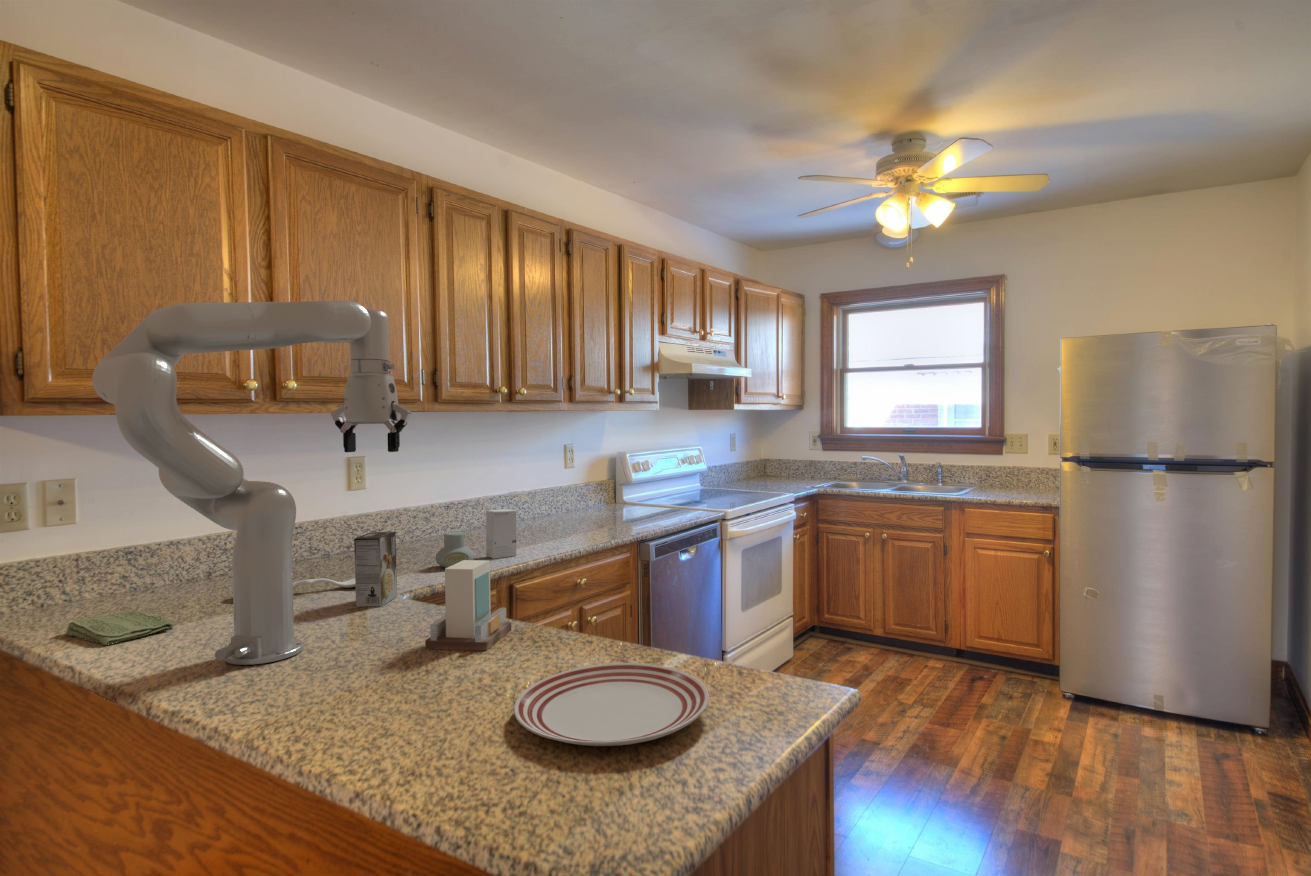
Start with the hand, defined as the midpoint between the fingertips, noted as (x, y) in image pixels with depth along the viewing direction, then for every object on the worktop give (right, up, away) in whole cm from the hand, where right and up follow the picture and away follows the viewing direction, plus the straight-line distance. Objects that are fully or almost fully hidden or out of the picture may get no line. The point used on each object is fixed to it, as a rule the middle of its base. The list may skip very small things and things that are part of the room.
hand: (371, 451), depth 145 cm
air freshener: (0, -36, +60) cm, 70 cm away
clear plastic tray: (+23, -35, -10) cm, 43 cm away
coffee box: (-7, -36, +20) cm, 42 cm away
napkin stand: (+23, -36, -10) cm, 44 cm away
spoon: (-29, -37, +30) cm, 56 cm away
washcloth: (-50, -38, -3) cm, 63 cm away
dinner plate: (+53, -37, -46) cm, 80 cm away
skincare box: (+10, -35, +76) cm, 84 cm away
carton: (+23, -35, -10) cm, 43 cm away
